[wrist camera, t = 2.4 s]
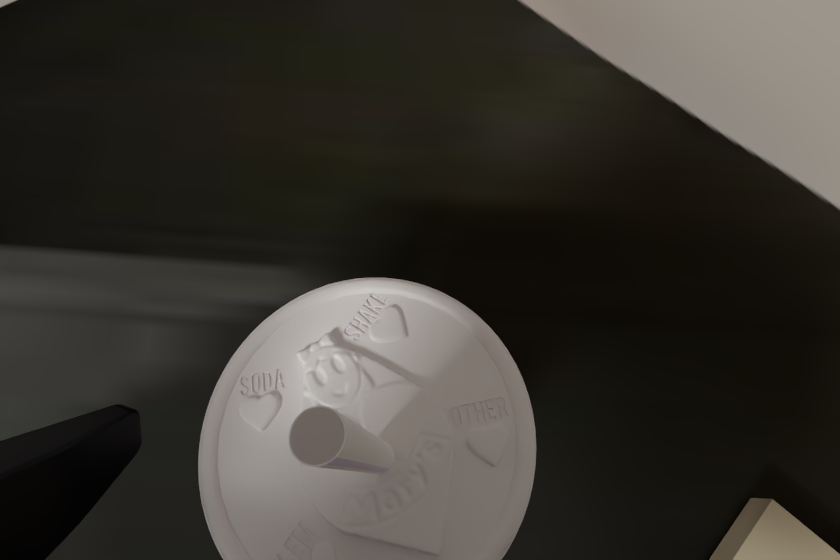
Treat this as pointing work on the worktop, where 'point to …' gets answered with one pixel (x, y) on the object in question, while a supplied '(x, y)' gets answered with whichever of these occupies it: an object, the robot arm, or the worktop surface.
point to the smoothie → (368, 432)
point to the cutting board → (771, 536)
